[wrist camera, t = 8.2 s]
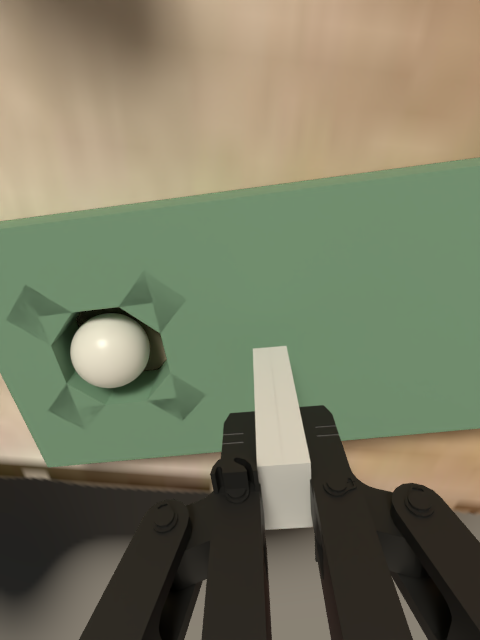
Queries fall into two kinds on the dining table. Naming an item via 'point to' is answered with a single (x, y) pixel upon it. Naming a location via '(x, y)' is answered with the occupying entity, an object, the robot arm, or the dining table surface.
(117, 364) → the ball
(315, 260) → the putting mat
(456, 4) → the dining table surface
